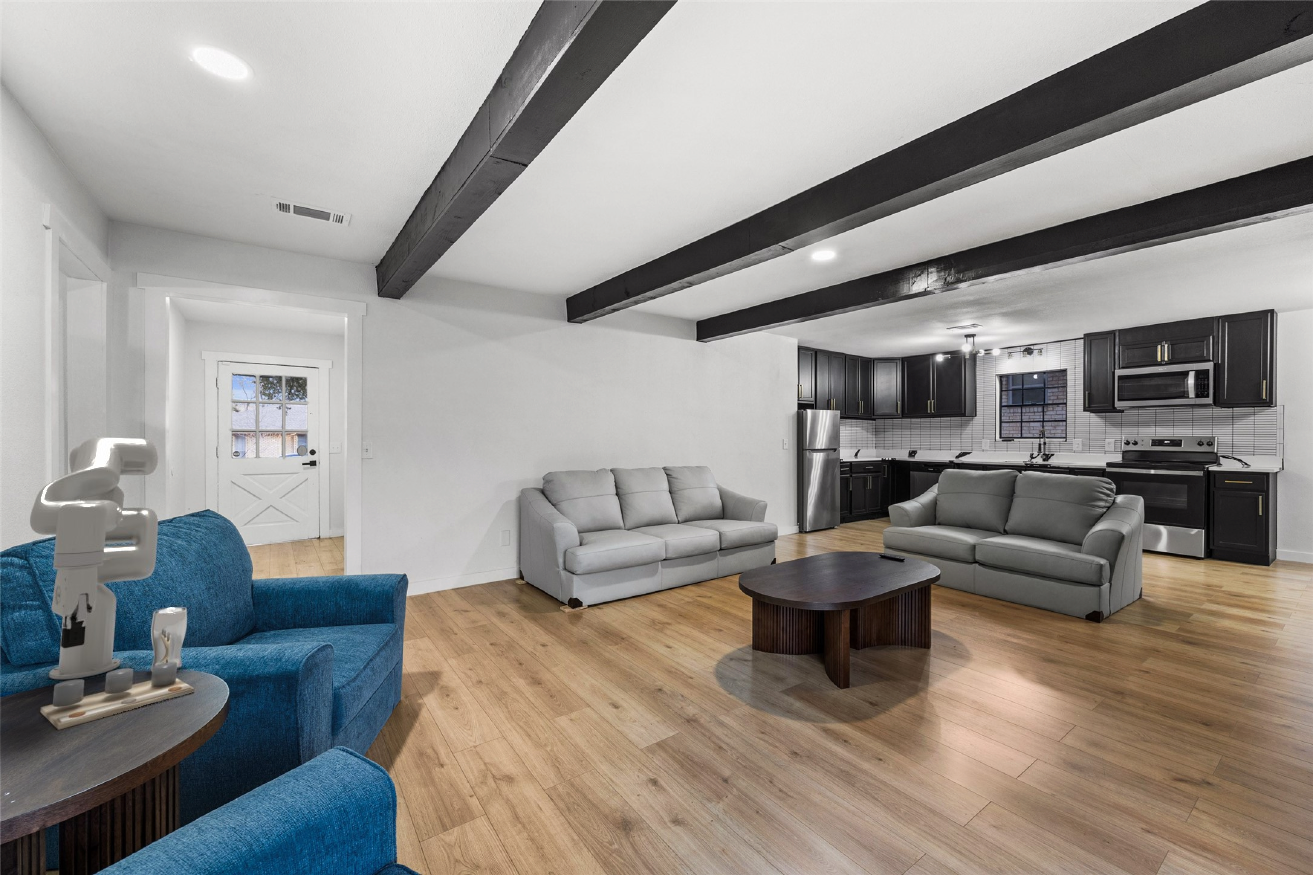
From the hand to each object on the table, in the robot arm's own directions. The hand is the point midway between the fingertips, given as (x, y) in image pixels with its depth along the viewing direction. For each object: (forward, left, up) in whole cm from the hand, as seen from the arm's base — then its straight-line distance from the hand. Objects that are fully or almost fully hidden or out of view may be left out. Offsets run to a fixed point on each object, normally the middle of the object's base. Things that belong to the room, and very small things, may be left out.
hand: (72, 645), depth 118 cm
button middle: (0, +8, -12) cm, 14 cm away
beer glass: (-15, +21, -14) cm, 30 cm away
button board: (+2, +8, -14) cm, 16 cm away
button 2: (0, +16, -13) cm, 21 cm away
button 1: (0, 0, -12) cm, 12 cm away
